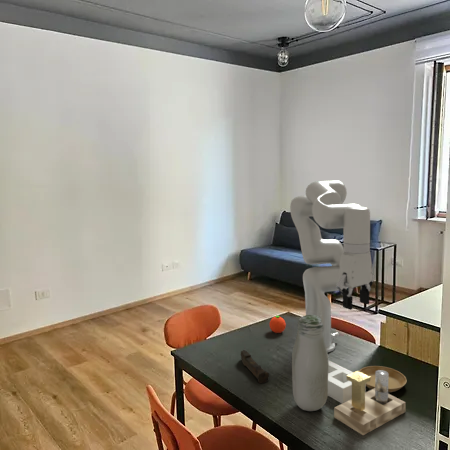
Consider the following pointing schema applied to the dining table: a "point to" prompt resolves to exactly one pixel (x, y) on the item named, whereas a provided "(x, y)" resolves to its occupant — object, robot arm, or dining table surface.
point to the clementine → (277, 324)
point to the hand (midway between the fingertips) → (356, 305)
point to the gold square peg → (358, 389)
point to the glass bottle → (310, 364)
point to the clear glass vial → (381, 387)
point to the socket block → (369, 413)
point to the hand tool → (254, 367)
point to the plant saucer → (394, 377)
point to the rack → (339, 383)
